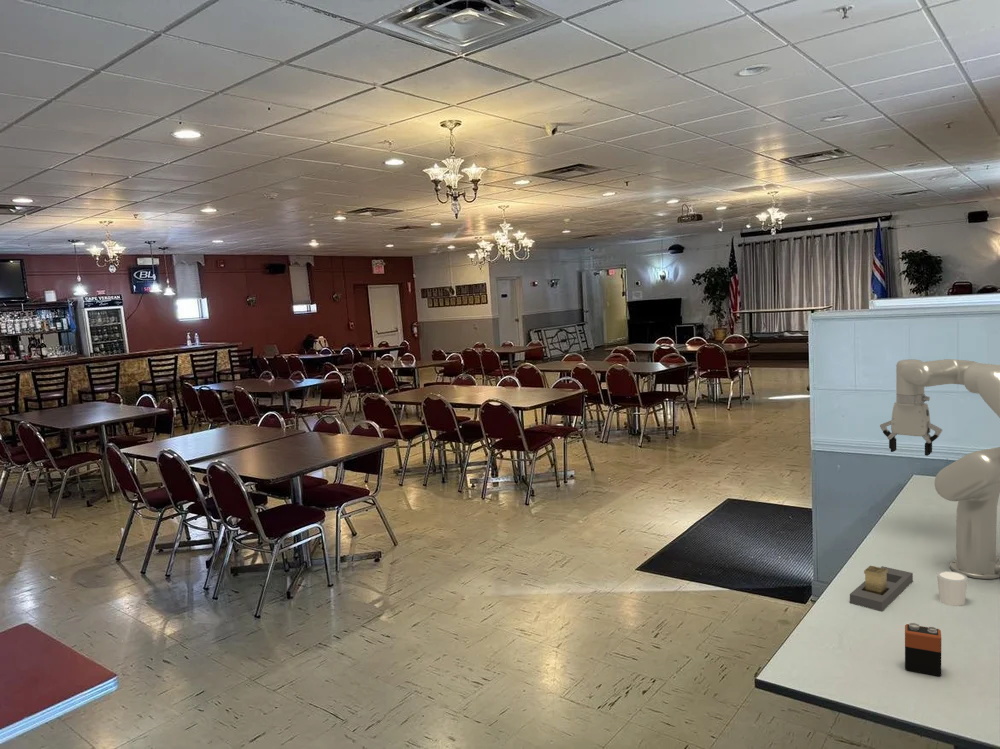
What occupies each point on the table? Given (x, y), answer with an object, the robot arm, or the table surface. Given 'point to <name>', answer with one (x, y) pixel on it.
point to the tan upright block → (876, 580)
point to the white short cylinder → (952, 587)
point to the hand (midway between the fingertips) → (910, 452)
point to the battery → (922, 649)
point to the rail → (895, 586)
